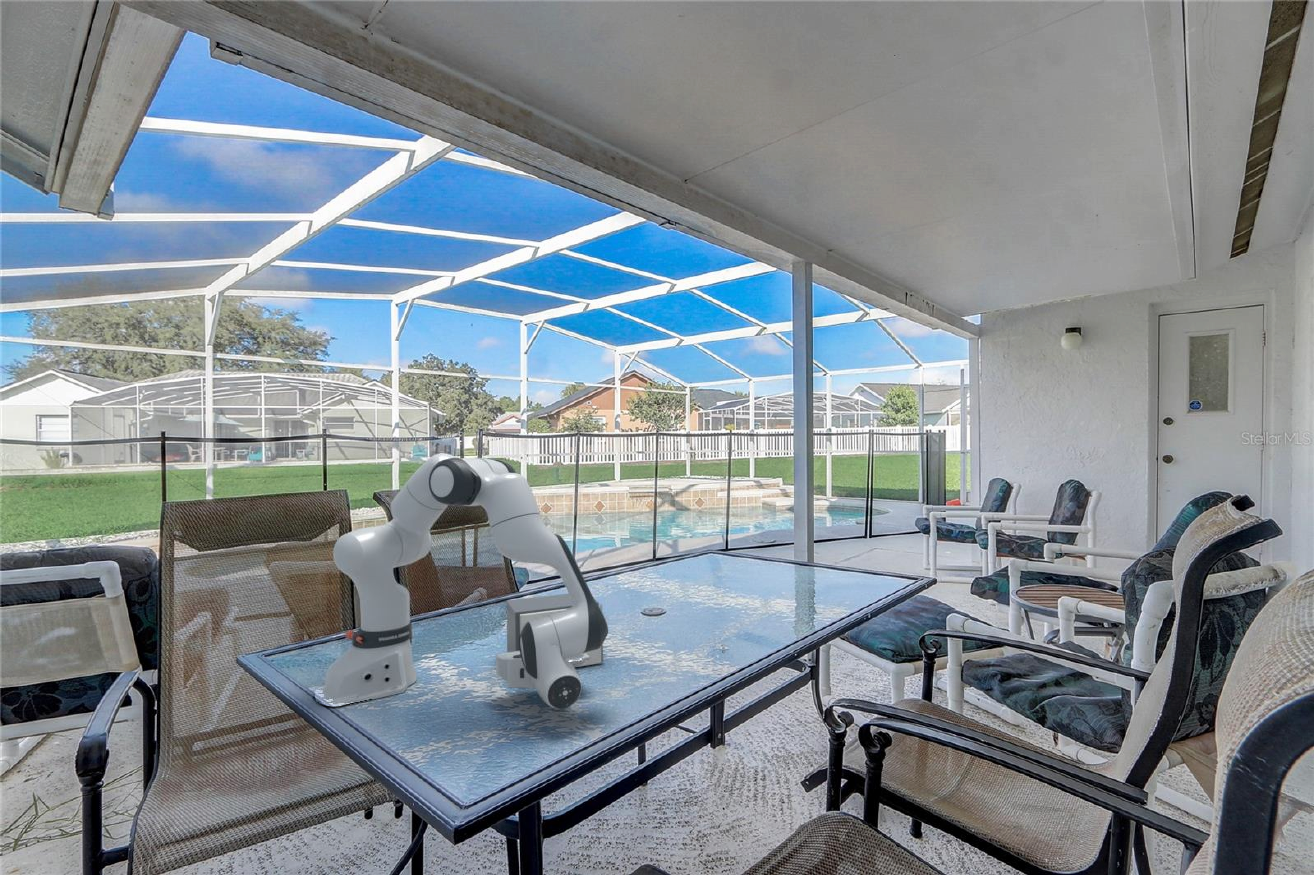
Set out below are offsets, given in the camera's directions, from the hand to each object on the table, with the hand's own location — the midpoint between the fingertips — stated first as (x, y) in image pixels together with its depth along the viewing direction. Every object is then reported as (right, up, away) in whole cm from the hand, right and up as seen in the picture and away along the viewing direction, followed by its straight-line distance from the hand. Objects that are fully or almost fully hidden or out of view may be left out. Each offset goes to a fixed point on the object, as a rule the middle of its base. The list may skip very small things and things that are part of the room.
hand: (534, 649), depth 144 cm
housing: (+2, -8, +15) cm, 17 cm away
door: (+7, -8, +5) cm, 11 cm away
